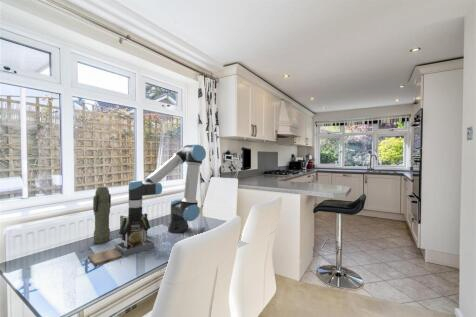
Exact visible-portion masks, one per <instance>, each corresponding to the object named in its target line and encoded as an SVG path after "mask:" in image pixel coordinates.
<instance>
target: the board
mask: <svg viewBox="0 0 476 317" xmlns="http://www.w3.org/2000/svg"><path fill="white" fill-rule="evenodd" d="M122 258H123V255H122V254H120V253H119V252H118V251H117V250H115V248H111V249H107V250H103V251H98V252H95V253H92V254H87V259H88V260H89V259H90V260H89V262H91V263H92V264H93V265H94V266H96V267H97V266H98V265H101V264H105V263H109V262H111V261H114V260H118V259H122Z"/></svg>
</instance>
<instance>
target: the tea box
mask: <svg viewBox="0 0 476 317" xmlns="http://www.w3.org/2000/svg"><path fill="white" fill-rule="evenodd" d="M128 215H129V213H128V212H127V213H125V214H122V215H120V216H119V229H120V228H121V225H122V222H123V217H128ZM141 220H143V222H144V224H145V220H144V217H143V216H142V218H141ZM127 221H129V219H127ZM127 221H126V225H125V227H126V226H127ZM145 226H146V224H145ZM124 229H125V228H124ZM126 235H127V233H126ZM119 236H120V237H122V235H120V234H119Z"/></svg>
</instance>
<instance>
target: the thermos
mask: <svg viewBox="0 0 476 317" xmlns="http://www.w3.org/2000/svg"><path fill="white" fill-rule="evenodd" d="M94 194H95V195H94V196H93V198H92V199H93V200H92V201H93V203H92V204H93V206H92V210H93V215H94V231H93V243H94V242H95V243H94V244H104V242H105V243H108V242H110V240H111V239H110V236H111V235H110V234H111V229H110V215H111V214H110V213H111V208H112V207H111V206H112V204H111V202H112V201H111V199H112V196H111V193H110V190H109V188H108V187H107V186H99V187H97V188H96V190H95V193H94ZM107 241H108V242H107Z"/></svg>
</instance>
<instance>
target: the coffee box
mask: <svg viewBox="0 0 476 317" xmlns="http://www.w3.org/2000/svg"><path fill="white" fill-rule="evenodd" d="M143 234H144V222H143V220H142V221H139V222H133V223H128V221H127V247H126V250H127V249H131V248H134V247H138V246H141V245H144V242H143Z"/></svg>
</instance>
